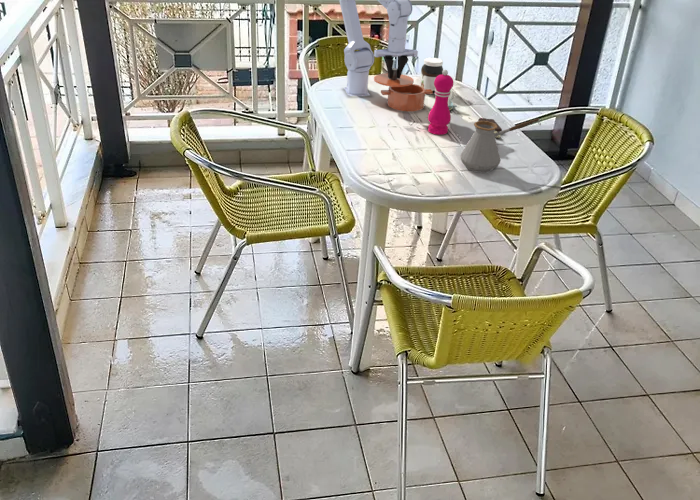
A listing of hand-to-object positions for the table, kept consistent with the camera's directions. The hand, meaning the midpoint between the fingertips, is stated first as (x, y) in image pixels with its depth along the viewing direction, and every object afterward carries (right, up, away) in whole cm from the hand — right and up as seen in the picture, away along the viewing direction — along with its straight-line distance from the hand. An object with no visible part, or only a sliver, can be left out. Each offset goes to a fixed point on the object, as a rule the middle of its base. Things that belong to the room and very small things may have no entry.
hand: (393, 77), depth 230 cm
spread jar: (+17, 0, +22) cm, 28 cm away
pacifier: (+19, -9, +7) cm, 22 cm away
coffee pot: (+27, -35, -35) cm, 56 cm away
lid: (0, -1, 0) cm, 1 cm away
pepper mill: (+13, -21, -12) cm, 27 cm away
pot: (+4, -8, +7) cm, 12 cm away
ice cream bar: (+31, -20, -10) cm, 38 cm away
